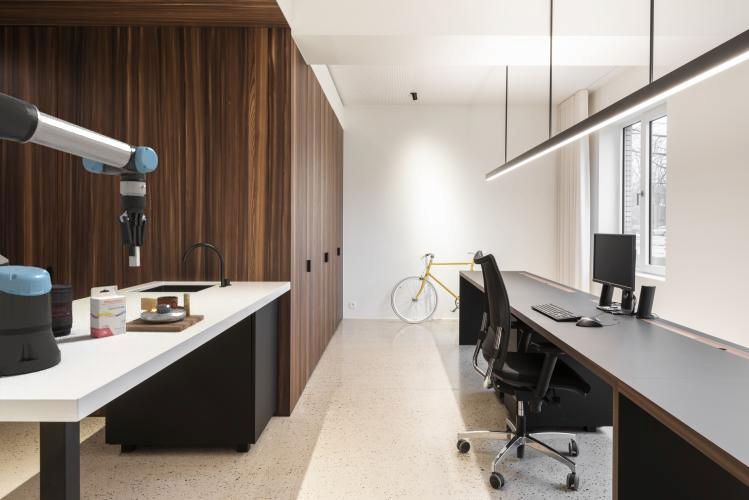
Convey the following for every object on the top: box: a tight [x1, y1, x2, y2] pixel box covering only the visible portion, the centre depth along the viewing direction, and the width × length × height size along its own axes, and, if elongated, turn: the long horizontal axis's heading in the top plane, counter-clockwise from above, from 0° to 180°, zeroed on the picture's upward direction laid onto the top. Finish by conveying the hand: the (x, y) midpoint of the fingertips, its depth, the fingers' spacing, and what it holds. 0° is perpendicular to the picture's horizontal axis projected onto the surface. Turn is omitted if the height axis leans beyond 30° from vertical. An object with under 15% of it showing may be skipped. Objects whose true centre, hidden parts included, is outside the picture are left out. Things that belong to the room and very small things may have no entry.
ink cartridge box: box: [89, 285, 127, 339], centre depth 140 cm, size 9×5×15 cm, turn 150°
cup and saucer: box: [156, 295, 184, 310], centre depth 176 cm, size 12×12×6 cm
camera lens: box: [51, 284, 74, 338], centre depth 139 cm, size 8×8×15 cm
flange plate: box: [140, 297, 186, 322], centre depth 156 cm, size 18×14×6 cm
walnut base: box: [126, 292, 205, 333], centre depth 155 cm, size 20×20×10 cm
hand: (134, 265), depth 153 cm, fingers closed
